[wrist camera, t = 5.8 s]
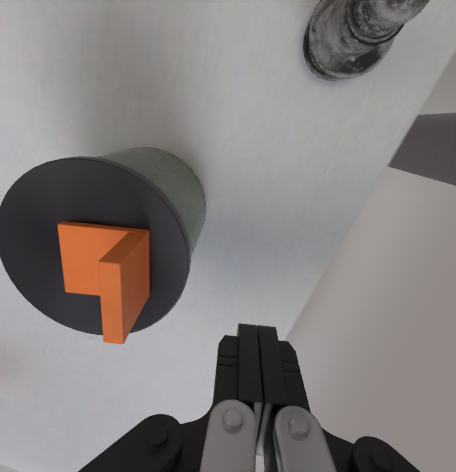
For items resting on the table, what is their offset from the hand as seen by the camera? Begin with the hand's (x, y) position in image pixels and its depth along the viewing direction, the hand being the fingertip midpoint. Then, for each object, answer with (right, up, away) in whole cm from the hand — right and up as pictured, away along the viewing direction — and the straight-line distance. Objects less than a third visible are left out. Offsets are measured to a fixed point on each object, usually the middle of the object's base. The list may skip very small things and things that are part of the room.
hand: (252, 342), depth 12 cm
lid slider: (-8, +3, +6) cm, 10 cm away
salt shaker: (+8, +20, +12) cm, 24 cm away
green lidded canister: (-9, +7, +17) cm, 20 cm away
